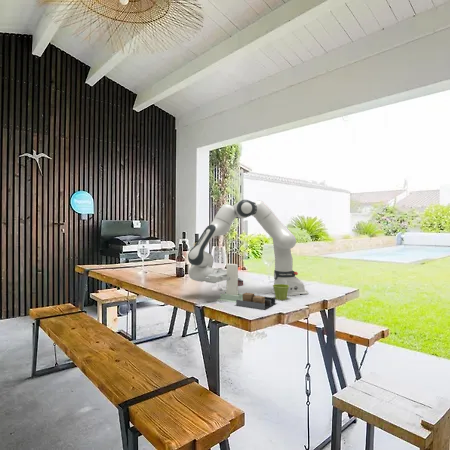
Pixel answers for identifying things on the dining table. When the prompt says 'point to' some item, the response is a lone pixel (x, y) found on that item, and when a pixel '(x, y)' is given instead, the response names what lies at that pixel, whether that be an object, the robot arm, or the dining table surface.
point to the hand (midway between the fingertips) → (233, 277)
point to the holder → (230, 297)
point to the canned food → (240, 282)
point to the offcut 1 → (248, 297)
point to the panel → (232, 279)
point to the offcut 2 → (259, 299)
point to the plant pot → (281, 291)
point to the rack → (255, 305)
